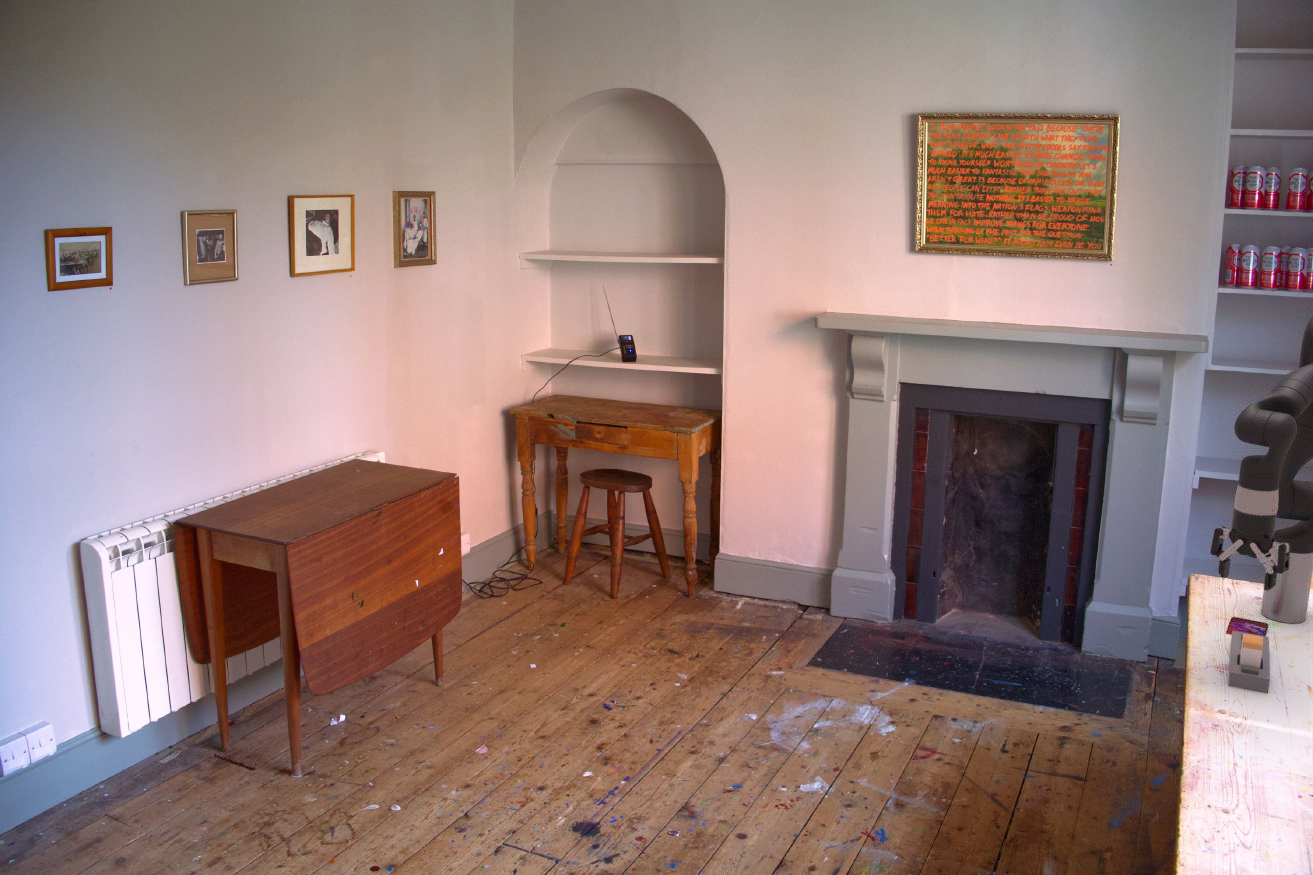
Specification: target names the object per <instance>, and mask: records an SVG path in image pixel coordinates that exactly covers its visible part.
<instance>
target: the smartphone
mask: <svg viewBox="0 0 1313 875" xmlns="http://www.w3.org/2000/svg"><path fill="white" fill-rule="evenodd" d="M1229 620H1230V621H1229V622H1228V625H1227V628H1226V632H1225V635H1230V636H1232V631H1237V632H1243V633H1249V634H1255V635H1261V636H1267V633H1268V631H1269V630H1268V629H1269V624H1268V623H1267V622H1263V621H1258V620H1253V619H1247V618H1243V617H1238V616H1232V617H1231V618H1230V619H1229Z"/></svg>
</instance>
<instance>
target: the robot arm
mask: <svg viewBox="0 0 1313 875" xmlns="http://www.w3.org/2000/svg"><path fill="white" fill-rule="evenodd" d="M1301 340H1302V341H1301V349H1300V356H1299V365H1298V368H1296V369H1293V370H1292V371H1290V372H1288V373H1286V374H1285V375H1284V376H1283V377H1282V378H1281V379H1280V380H1279V381H1278V383H1276V385H1275V386H1274V387H1273V388H1272V389H1271V391H1270V392H1269V393H1268V394H1266V395H1265V396H1263V397H1261V398H1259V399H1257V400H1255V401H1254V402H1252V403H1251V404H1249V405H1248V406H1246V407H1245V408H1244V409H1243V410H1242V411H1241V412H1240V413H1239V414H1238V416H1237V418H1236V419H1235V421H1234V426H1233V428H1234V434H1235V436H1236V437H1237V439H1238V440H1240V442H1243V443H1246V444H1250V445H1256V446H1261V447H1266V448H1268V451H1267V453H1266V454H1254V455H1253V454H1252V455H1247V456H1244V457H1243V459H1241V462H1240V468H1239V474H1238V482H1237V483H1238V484H1237V487H1236V488H1237V489H1236V492H1235V495H1234V497H1235V498H1234V506H1233V514H1232V522H1231V529H1228V528H1226V526H1224V525H1220V526H1218V527H1216V528H1215V529H1214V530H1213V536H1212V541H1211V547H1210V555H1211V556H1215V557H1217V558H1218V559H1219V563H1218V571H1217V572H1218V574H1219V576H1220V578H1223V579H1226V578H1228V577H1229V575H1230V569H1231V562H1232V561H1231V560H1232V559H1230V558H1231V557H1233V555H1234V554H1236V553H1238V555H1241V556H1247V557H1250V558H1253V559H1258V561H1259V562H1260V564H1261V565H1263V567H1264V569H1265V575H1264V582H1263V583H1264V584H1263V594H1262V598H1261V599H1262V600H1261V606H1260V613H1261V614H1262V615H1263V616H1265V617H1266V618H1268V619H1270V620H1273V621H1276V622H1281V623H1286V624H1287V623H1289V624H1299V623H1304V622H1305V621H1306V620H1307V613H1308V606H1309V602H1310V601H1309V599H1310V592H1311V586H1312V579H1313V480H1301V479H1299V480H1298V479H1295V478H1296V476H1297V474H1298V473H1299V471H1301V469H1302V468H1303V467H1304V466H1305V465H1306V464H1308V463H1309V462H1311V461H1312V459H1313V315H1312V316H1311V317H1310V318H1309V319H1308V322H1307V324H1306V326H1305V329H1304V333H1303V336H1302V339H1301ZM1277 519H1279V520H1280V519H1282V520H1283V519H1284V520H1292V521H1293V520H1294V521H1299V522H1297V523H1295V524H1293V525H1291V526H1288V527H1283V528H1280V529H1277V530H1276V521H1277ZM1227 538H1229V540H1230V542H1231V545H1230V546H1229V547H1228V548H1226V550H1225V551H1224V550H1223V548H1224V544H1225V543H1224V542H1225V539H1227Z"/></svg>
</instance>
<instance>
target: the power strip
mask: <svg viewBox="0 0 1313 875" xmlns="http://www.w3.org/2000/svg"><path fill="white" fill-rule="evenodd" d="M1243 634H1249V633H1243V632H1237V631H1232V635H1231V637H1230V650H1229V651H1230V652H1229V667H1228V669H1229V670H1228V687H1233V688H1238V689H1244V690H1250V691H1254V692H1260V693H1265V694H1268V693H1269V690H1270V689H1269V688H1270V681H1271V675H1270V674H1271V673H1270V671H1271V670H1270V669H1271V668H1270V666H1271V665H1270V637H1269V636H1267V635H1266V636H1261V635H1255V634H1249V635H1254V636H1260V637H1263V649H1262V657H1261V664H1260V669H1259V667H1253V666H1248V665H1239V661H1240V654H1241V646H1242V638H1243Z"/></svg>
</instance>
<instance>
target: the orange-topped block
mask: <svg viewBox="0 0 1313 875" xmlns="http://www.w3.org/2000/svg"><path fill="white" fill-rule="evenodd" d="M1262 649H1263V637H1260V636H1254V635H1249V634H1243V638H1242V646H1241V654H1240V661H1239V665H1248V666H1253V667H1259V669H1260V664H1261V657H1262Z"/></svg>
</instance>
